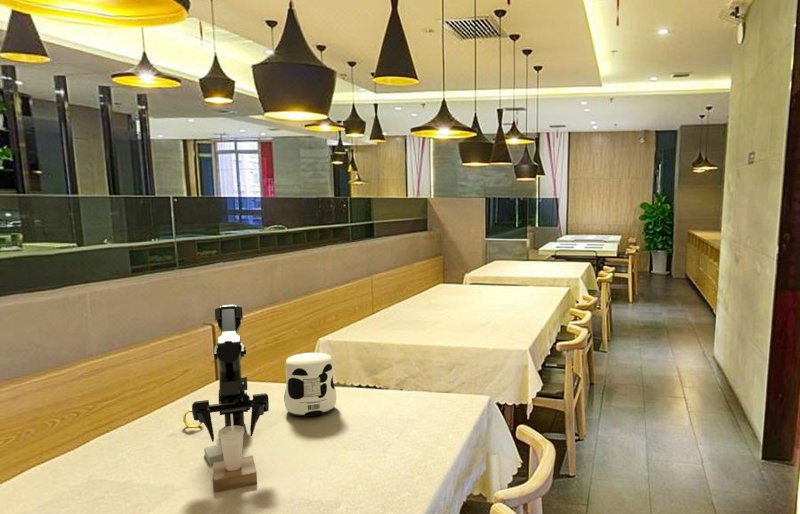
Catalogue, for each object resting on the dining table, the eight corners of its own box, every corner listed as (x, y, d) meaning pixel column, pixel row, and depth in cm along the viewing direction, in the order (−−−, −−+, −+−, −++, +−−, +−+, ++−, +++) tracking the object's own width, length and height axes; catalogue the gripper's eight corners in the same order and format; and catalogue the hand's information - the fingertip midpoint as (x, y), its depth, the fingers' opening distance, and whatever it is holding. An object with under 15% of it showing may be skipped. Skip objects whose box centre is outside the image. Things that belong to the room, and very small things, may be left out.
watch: (204, 425, 175) (204, 407, 174) (201, 429, 172) (201, 410, 171) (185, 424, 175) (185, 406, 174) (182, 428, 172) (182, 410, 171)
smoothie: (229, 475, 134) (226, 420, 132) (215, 468, 138) (211, 414, 137) (251, 466, 139) (248, 412, 137) (237, 459, 143) (234, 407, 141)
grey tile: (204, 454, 153) (204, 447, 152) (230, 448, 156) (229, 441, 156) (209, 464, 147) (209, 457, 146) (236, 458, 150) (235, 451, 150)
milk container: (311, 398, 196) (308, 349, 195) (347, 407, 186) (345, 355, 184) (273, 414, 182) (271, 361, 181) (311, 424, 172) (308, 368, 170)
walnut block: (213, 473, 141) (212, 462, 141) (253, 466, 145) (252, 455, 144) (214, 492, 132) (213, 480, 132) (257, 483, 135) (256, 472, 135)
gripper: (190, 371, 137) (188, 430, 128) (266, 363, 143) (270, 419, 133) (194, 391, 146) (193, 448, 136) (266, 383, 151) (270, 438, 141)
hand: (232, 438), depth 136 cm, fingers open, 9 cm apart
